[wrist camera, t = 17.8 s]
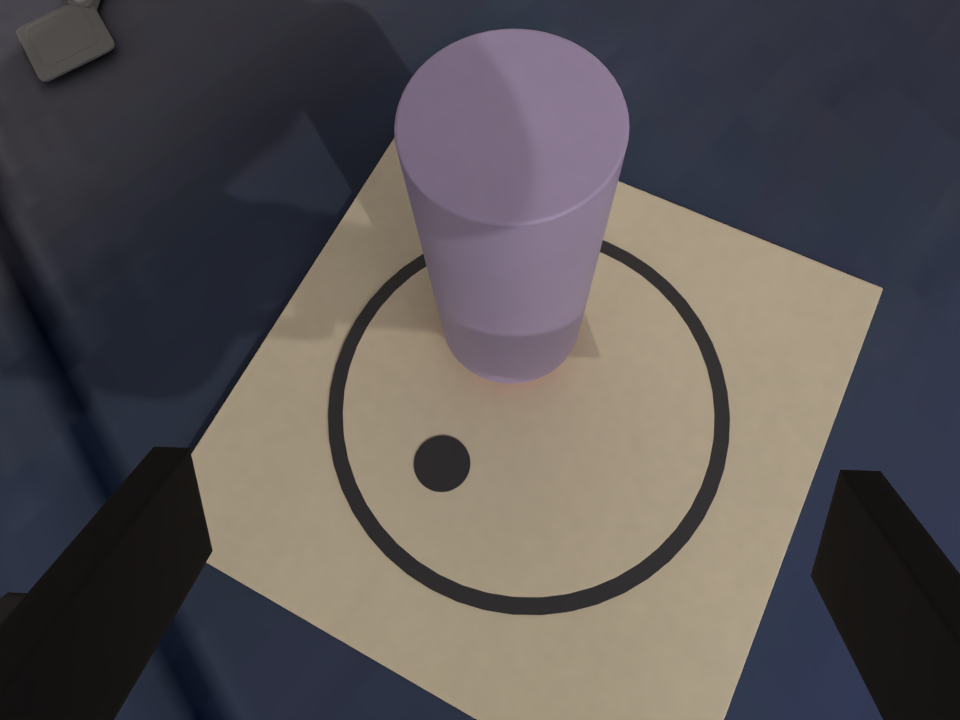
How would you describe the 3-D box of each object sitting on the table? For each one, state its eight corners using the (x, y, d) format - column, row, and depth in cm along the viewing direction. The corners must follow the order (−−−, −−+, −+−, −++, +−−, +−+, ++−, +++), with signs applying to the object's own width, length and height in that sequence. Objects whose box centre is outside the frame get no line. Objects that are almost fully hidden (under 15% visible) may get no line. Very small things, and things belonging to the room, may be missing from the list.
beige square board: (877, 292, 24) (886, 285, 23) (677, 833, 19) (682, 840, 19) (419, 106, 27) (417, 95, 27) (150, 527, 22) (140, 525, 22)
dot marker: (598, 304, 24) (667, 74, 13) (541, 417, 22) (568, 263, 12) (482, 253, 24) (461, -2, 14) (422, 360, 23) (350, 167, 13)
